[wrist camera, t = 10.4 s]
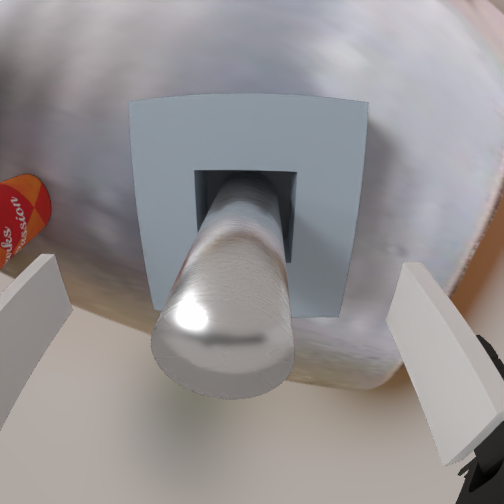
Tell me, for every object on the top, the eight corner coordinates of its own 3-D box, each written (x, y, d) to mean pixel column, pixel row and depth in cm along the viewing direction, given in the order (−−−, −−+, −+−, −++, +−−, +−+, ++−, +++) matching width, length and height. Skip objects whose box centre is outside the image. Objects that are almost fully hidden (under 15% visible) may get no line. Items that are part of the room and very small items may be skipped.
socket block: (170, 277, 25) (153, 310, 21) (155, 100, 18) (128, 101, 14) (328, 282, 24) (338, 317, 20) (347, 102, 18) (368, 102, 14)
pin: (219, 226, 21) (164, 392, 9) (217, 170, 20) (138, 295, 7) (276, 227, 21) (287, 401, 9) (278, 171, 19) (302, 303, 7)
